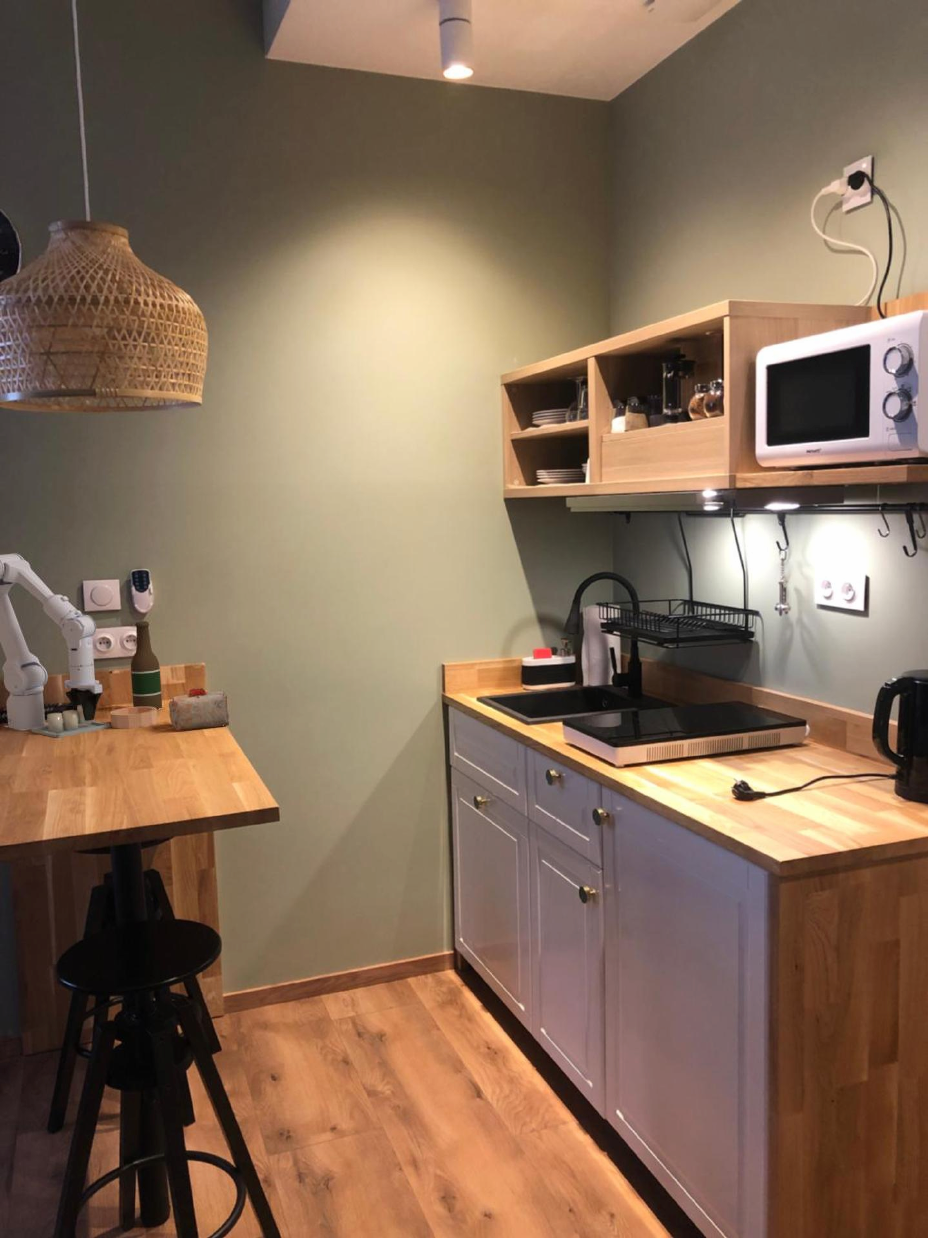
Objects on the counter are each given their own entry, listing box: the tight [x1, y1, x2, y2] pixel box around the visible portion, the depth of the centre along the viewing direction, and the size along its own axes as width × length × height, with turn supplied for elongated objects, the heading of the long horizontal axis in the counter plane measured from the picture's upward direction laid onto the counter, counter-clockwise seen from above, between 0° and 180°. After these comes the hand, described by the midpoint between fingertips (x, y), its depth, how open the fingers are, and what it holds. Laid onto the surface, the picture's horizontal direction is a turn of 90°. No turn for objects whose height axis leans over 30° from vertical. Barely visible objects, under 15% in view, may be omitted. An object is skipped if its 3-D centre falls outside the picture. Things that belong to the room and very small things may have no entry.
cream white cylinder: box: [77, 705, 94, 724], centre depth 258 cm, size 3×3×4 cm
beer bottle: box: [130, 620, 163, 711], centre depth 279 cm, size 8×8×24 cm
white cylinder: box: [46, 712, 63, 734], centre depth 252 cm, size 3×3×4 cm
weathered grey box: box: [168, 686, 230, 732], centre depth 254 cm, size 14×8×10 cm, turn 112°
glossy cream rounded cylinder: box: [62, 709, 79, 731], centre depth 255 cm, size 3×3×4 cm
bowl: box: [109, 706, 158, 730], centre depth 259 cm, size 11×11×4 cm
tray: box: [30, 720, 112, 739], centre depth 255 cm, size 13×14×1 cm
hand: (85, 719), depth 258 cm, fingers closed on cream white cylinder, 3 cm apart
